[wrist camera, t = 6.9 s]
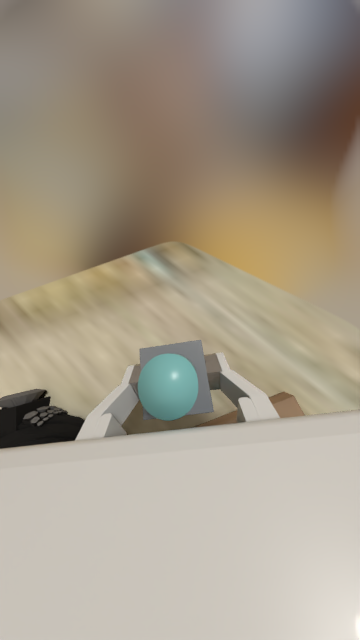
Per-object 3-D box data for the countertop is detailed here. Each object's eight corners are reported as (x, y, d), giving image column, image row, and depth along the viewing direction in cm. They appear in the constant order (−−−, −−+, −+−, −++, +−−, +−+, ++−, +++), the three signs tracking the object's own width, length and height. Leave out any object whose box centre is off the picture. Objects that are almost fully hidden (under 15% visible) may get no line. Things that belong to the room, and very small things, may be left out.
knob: (203, 382, 15) (220, 431, 6) (168, 387, 15) (126, 441, 6) (197, 346, 16) (203, 335, 7) (164, 351, 16) (124, 347, 7)
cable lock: (-359, 1180, 6) (-123, 427, 14) (-152, 870, 10) (-57, 412, 18) (237, 1170, 5) (131, 364, 13) (219, 829, 9) (144, 362, 17)
